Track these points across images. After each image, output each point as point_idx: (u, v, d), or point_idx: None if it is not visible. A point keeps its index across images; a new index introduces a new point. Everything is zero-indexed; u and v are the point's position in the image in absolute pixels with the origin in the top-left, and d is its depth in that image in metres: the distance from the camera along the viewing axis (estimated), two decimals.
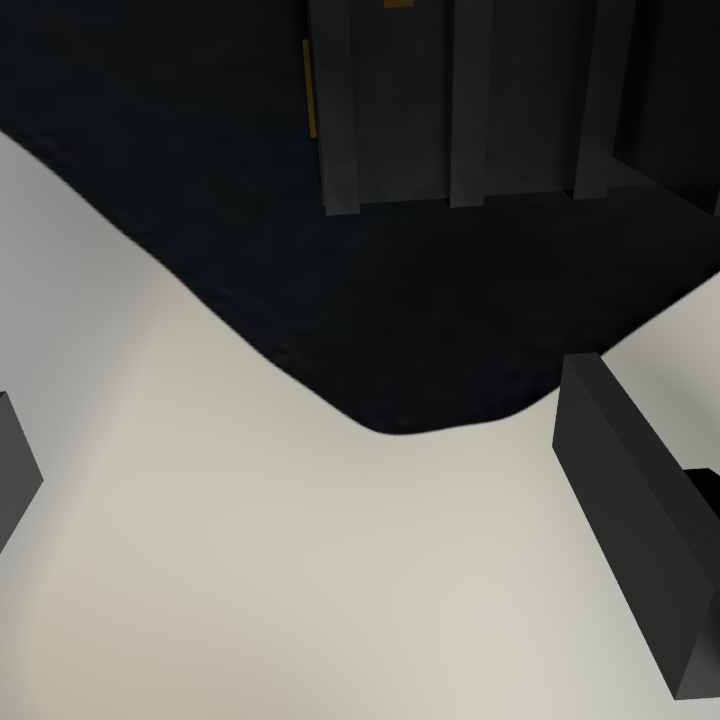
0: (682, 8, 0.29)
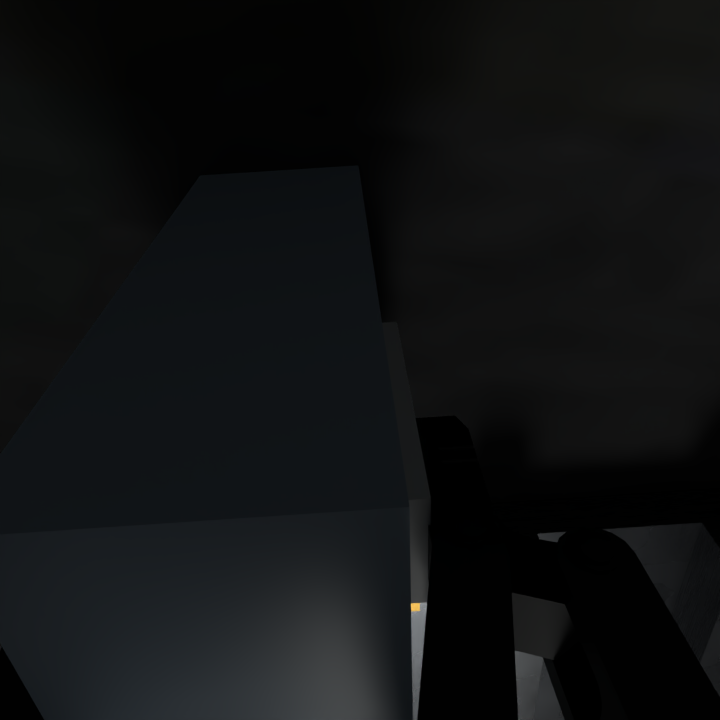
0: None
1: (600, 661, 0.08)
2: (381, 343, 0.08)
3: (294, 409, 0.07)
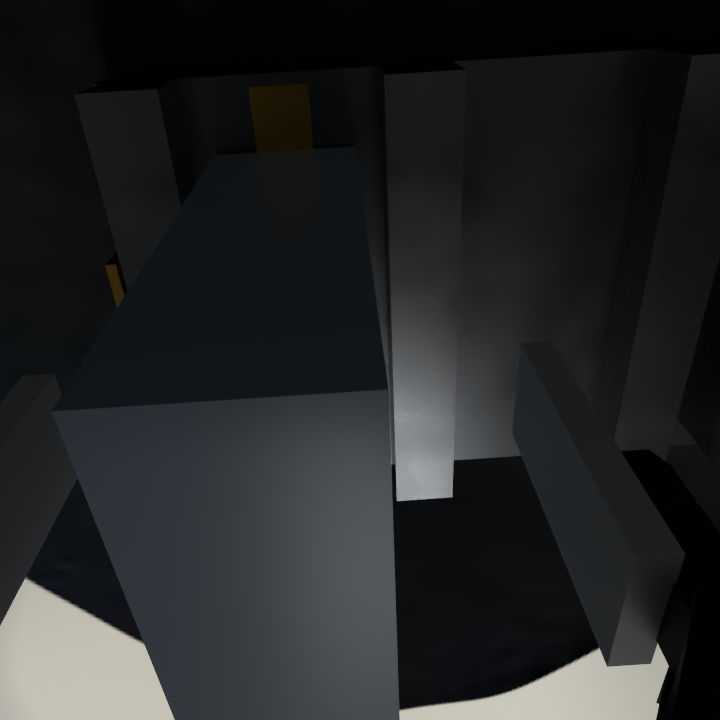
0: None
1: None
2: (371, 286, 0.10)
3: (304, 331, 0.09)
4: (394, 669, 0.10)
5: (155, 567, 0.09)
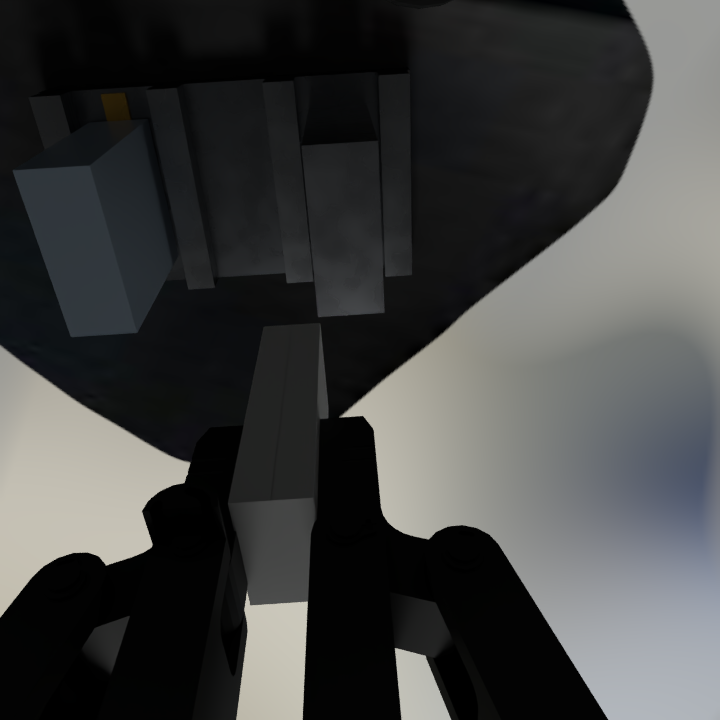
0: None
1: (471, 660, 0.08)
2: (106, 152, 0.34)
3: (79, 159, 0.33)
4: (118, 268, 0.35)
5: (41, 222, 0.33)
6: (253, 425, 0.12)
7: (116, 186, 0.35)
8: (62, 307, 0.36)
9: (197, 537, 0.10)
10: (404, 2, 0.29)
